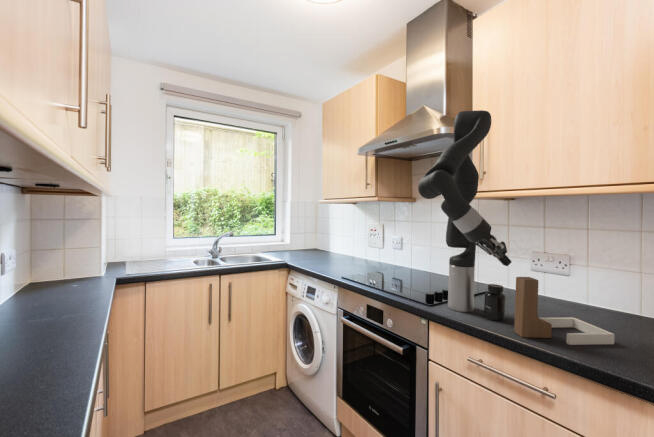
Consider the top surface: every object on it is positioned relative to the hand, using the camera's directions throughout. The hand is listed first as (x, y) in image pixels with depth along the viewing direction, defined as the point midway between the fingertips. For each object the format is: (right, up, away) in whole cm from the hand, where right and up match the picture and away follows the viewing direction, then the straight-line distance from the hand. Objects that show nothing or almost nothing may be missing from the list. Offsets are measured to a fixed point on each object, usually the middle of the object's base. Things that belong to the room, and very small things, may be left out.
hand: (507, 263), depth 96 cm
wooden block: (+8, -23, +1) cm, 24 cm away
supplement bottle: (+4, -22, +16) cm, 28 cm away
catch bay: (+21, -23, +2) cm, 31 cm away
